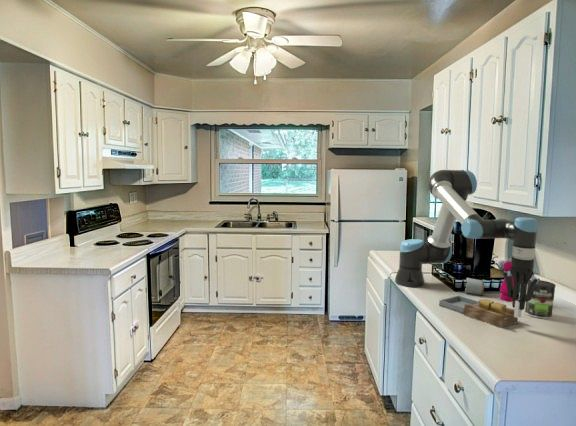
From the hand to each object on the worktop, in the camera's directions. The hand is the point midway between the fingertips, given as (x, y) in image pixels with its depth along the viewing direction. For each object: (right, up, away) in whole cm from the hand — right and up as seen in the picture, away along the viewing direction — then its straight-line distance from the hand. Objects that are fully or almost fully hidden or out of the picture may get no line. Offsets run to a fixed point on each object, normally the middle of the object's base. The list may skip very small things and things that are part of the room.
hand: (517, 316), depth 158 cm
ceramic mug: (+3, 0, +44) cm, 45 cm away
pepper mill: (+15, -1, +35) cm, 38 cm away
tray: (-13, -2, +23) cm, 26 cm away
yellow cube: (-4, -1, +7) cm, 8 cm away
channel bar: (-6, -3, +9) cm, 12 cm away
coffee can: (+18, -3, +15) cm, 24 cm away
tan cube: (-7, 0, +11) cm, 13 cm away
